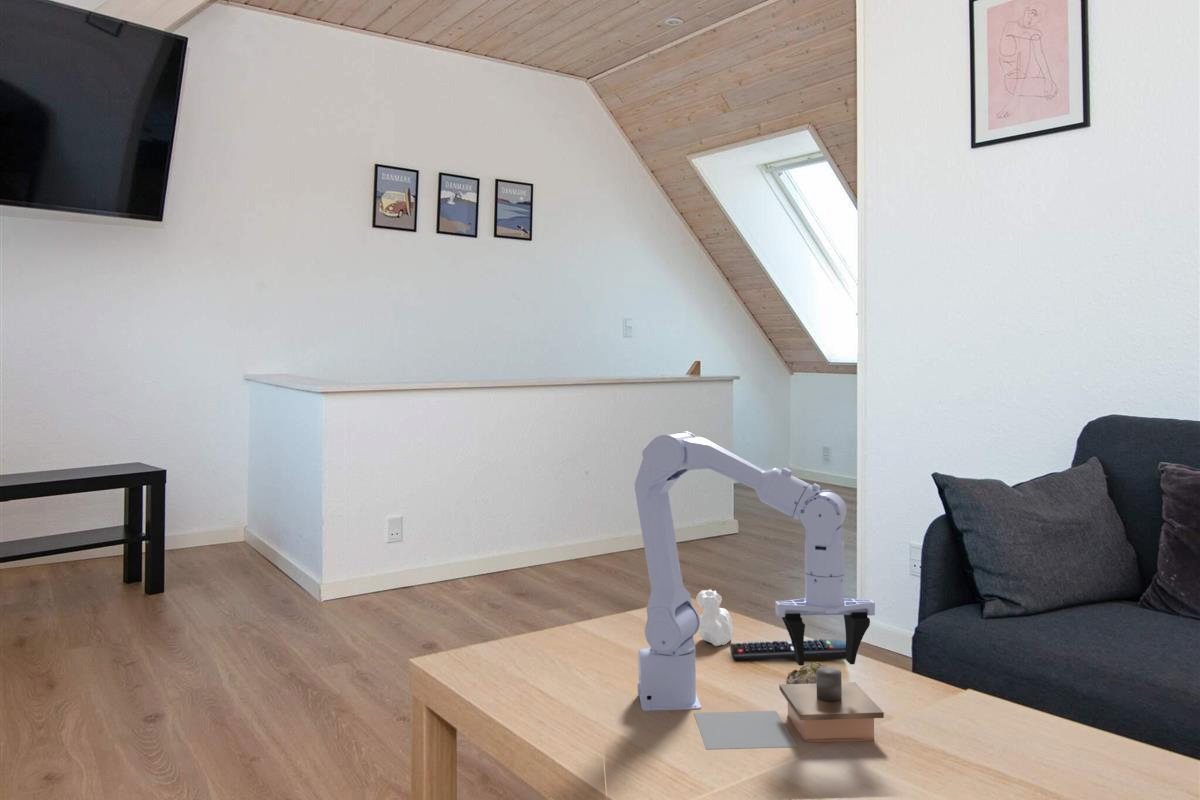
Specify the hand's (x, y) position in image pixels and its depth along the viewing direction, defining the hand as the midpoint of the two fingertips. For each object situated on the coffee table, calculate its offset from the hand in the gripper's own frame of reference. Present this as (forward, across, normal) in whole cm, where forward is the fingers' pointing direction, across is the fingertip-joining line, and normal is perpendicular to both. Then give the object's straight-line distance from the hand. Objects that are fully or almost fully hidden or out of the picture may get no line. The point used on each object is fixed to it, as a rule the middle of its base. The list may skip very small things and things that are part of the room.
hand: (825, 662), depth 126 cm
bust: (+10, -10, +43) cm, 46 cm away
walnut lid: (+6, 0, -1) cm, 6 cm away
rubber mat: (+10, -13, -1) cm, 16 cm away
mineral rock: (+10, +2, +18) cm, 21 cm away
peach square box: (+10, 0, -1) cm, 10 cm away
